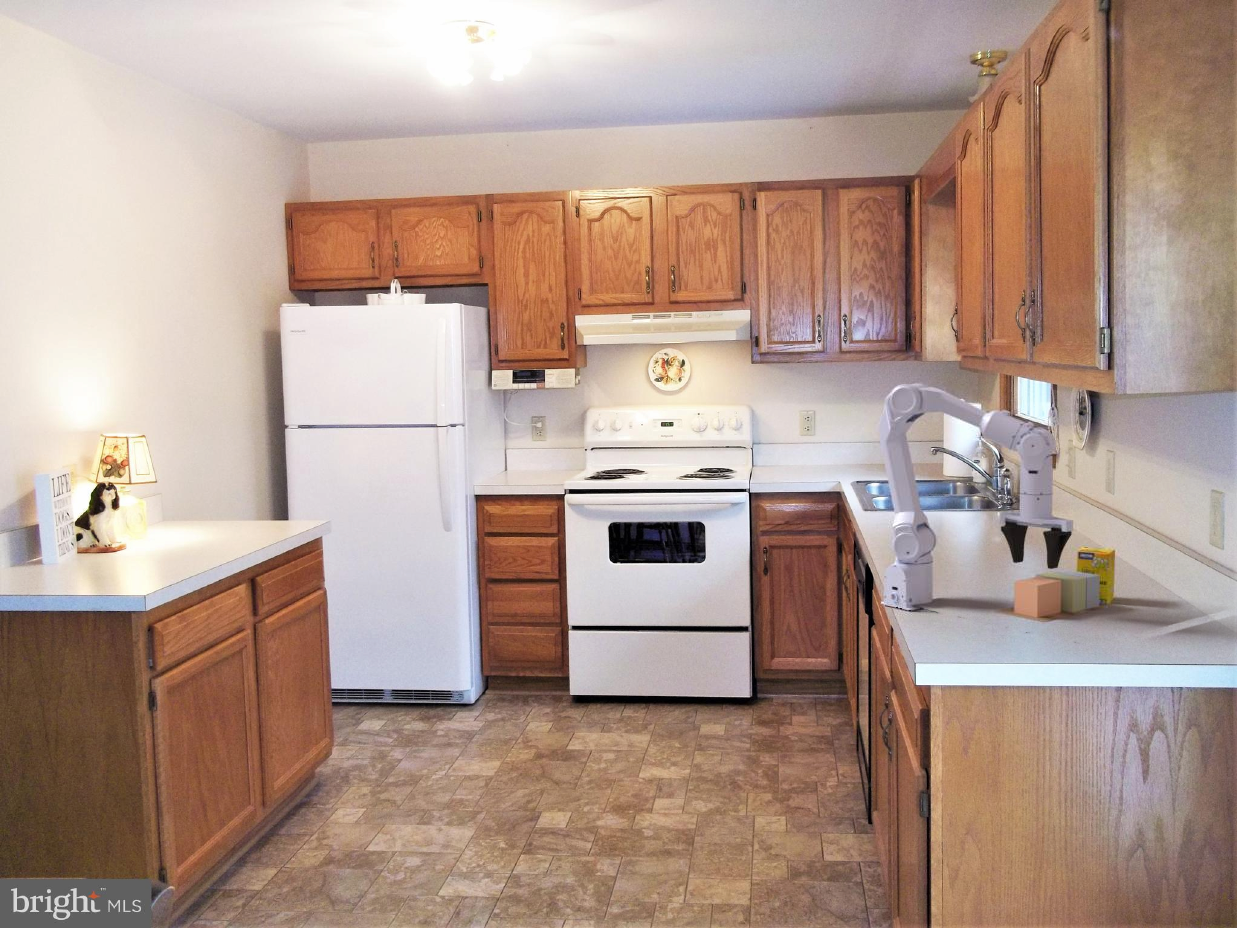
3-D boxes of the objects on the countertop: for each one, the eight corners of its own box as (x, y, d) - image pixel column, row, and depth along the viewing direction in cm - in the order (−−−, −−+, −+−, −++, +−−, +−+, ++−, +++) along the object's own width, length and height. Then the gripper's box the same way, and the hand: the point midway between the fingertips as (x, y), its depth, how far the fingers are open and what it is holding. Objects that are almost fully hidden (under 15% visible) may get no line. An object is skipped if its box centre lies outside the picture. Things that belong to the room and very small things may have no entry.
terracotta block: (1037, 617, 203) (1037, 585, 202) (1014, 612, 207) (1014, 581, 206) (1060, 612, 207) (1061, 580, 206) (1037, 607, 211) (1038, 576, 210)
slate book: (1086, 609, 208) (1087, 577, 208) (1049, 601, 215) (1050, 571, 215) (1099, 606, 211) (1099, 575, 210) (1062, 599, 217) (1062, 569, 217)
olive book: (1072, 612, 206) (1073, 580, 206) (1035, 605, 213) (1036, 574, 212) (1085, 609, 208) (1086, 578, 208) (1048, 602, 215) (1049, 571, 214)
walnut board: (1044, 627, 199) (1044, 622, 199) (993, 616, 208) (993, 611, 208) (1108, 612, 210) (1108, 606, 210) (1057, 602, 219) (1058, 597, 219)
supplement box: (1075, 606, 216) (1076, 550, 215) (1082, 600, 221) (1083, 546, 220) (1108, 609, 212) (1109, 553, 211) (1114, 603, 217) (1115, 548, 216)
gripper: (1083, 495, 202) (1082, 568, 203) (1017, 488, 214) (1016, 557, 215) (1059, 498, 198) (1058, 572, 199) (993, 491, 210) (992, 561, 211)
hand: (1035, 565), depth 207 cm, fingers open, 7 cm apart
